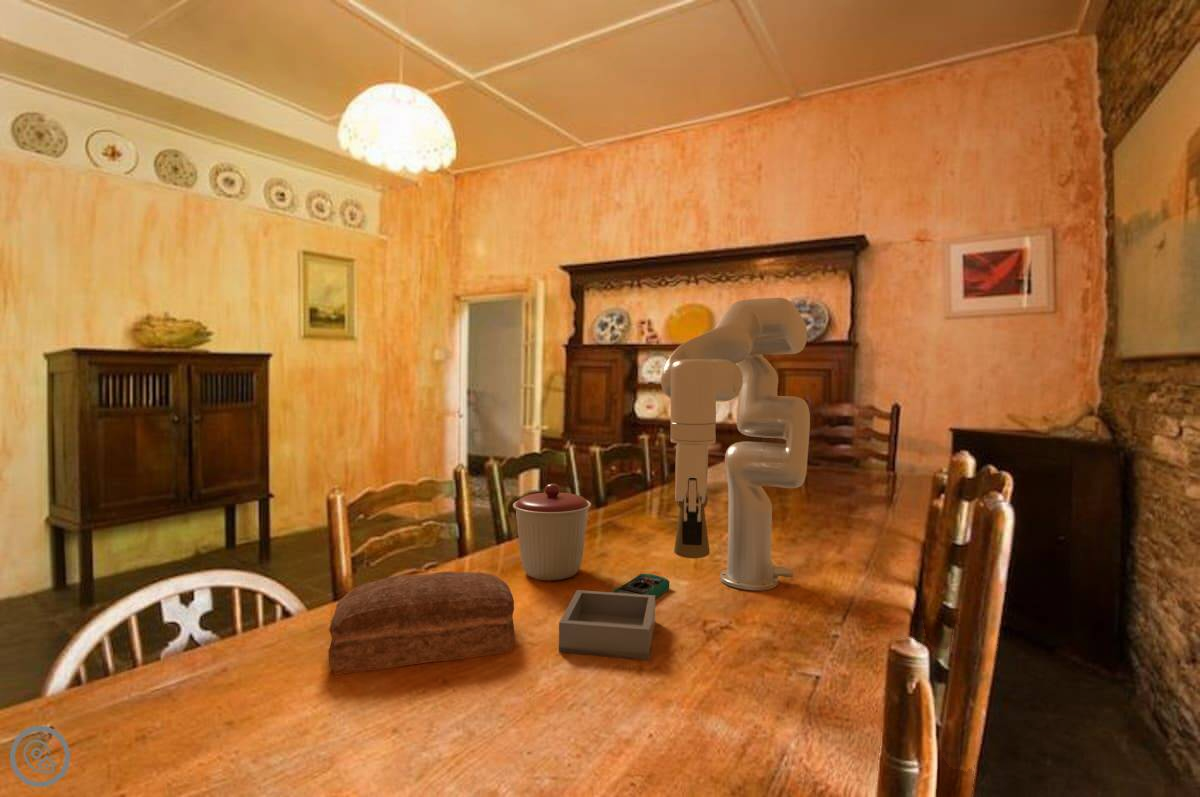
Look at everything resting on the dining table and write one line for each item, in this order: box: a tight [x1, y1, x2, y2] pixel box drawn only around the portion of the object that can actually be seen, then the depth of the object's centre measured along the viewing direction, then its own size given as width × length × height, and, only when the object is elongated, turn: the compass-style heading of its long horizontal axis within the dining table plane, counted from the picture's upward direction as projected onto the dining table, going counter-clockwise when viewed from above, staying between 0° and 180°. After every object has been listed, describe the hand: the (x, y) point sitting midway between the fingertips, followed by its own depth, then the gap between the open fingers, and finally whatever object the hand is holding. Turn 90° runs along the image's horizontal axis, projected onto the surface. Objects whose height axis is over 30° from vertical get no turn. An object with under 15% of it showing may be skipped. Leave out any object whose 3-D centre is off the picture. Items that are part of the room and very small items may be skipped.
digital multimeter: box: [611, 573, 670, 599], centre depth 121 cm, size 7×15×3 cm, turn 148°
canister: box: [512, 483, 592, 581], centre depth 134 cm, size 18×18×21 cm
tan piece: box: [673, 488, 711, 559], centre depth 98 cm, size 6×6×11 cm
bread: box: [327, 570, 516, 675], centre depth 99 cm, size 17×29×11 cm, turn 106°
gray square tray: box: [558, 589, 656, 661], centre depth 102 cm, size 15×15×5 cm
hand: (692, 540), depth 98 cm, fingers closed on tan piece, 2 cm apart
